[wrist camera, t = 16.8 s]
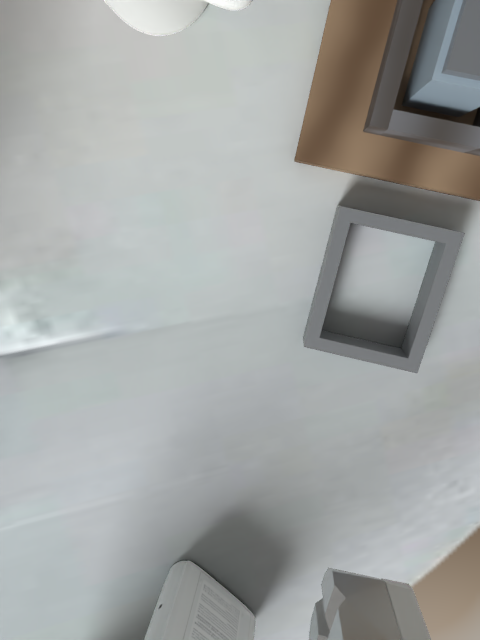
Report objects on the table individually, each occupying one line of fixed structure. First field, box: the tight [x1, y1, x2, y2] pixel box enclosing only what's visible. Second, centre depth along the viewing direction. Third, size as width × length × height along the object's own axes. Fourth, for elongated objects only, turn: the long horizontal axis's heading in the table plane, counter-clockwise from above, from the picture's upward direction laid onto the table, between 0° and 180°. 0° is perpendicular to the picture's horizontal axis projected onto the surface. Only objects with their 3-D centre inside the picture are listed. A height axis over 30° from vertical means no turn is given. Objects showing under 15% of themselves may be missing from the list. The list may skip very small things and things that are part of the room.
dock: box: [294, 0, 480, 201], centre depth 31 cm, size 17×16×4 cm
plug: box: [402, 0, 480, 117], centre depth 27 cm, size 4×6×8 cm, turn 168°
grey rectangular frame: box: [303, 206, 465, 373], centre depth 36 cm, size 9×11×2 cm
